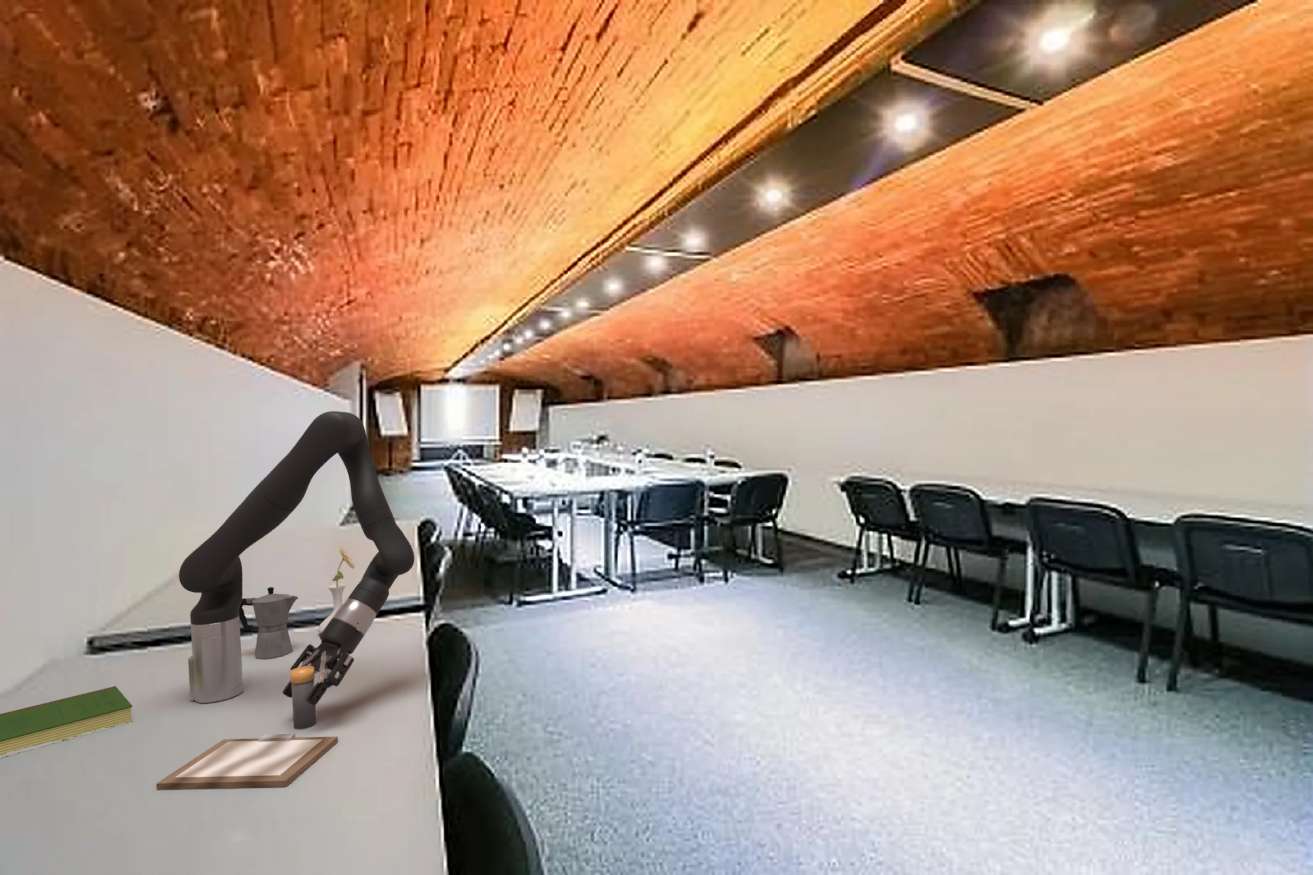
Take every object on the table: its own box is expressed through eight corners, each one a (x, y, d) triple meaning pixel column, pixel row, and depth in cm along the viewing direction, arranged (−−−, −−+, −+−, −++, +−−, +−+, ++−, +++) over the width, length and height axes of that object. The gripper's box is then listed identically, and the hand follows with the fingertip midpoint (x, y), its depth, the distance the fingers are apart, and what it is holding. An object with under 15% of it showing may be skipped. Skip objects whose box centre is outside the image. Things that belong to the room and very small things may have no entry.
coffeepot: (305, 645, 189) (302, 581, 189) (295, 656, 180) (291, 588, 180) (244, 652, 186) (240, 586, 186) (230, 663, 177) (227, 594, 176)
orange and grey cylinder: (288, 729, 133) (285, 673, 133) (301, 720, 137) (298, 666, 137) (309, 729, 133) (306, 673, 133) (321, 720, 137) (318, 665, 137)
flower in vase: (349, 637, 196) (345, 550, 196) (310, 639, 196) (305, 552, 196) (369, 624, 209) (365, 543, 209) (332, 626, 209) (328, 544, 209)
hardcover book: (116, 702, 153) (115, 686, 153) (133, 723, 141) (132, 705, 141) (-43, 743, 135) (-44, 724, 135) (-40, 772, 122) (-41, 751, 122)
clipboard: (156, 789, 112) (155, 778, 112) (223, 744, 127) (223, 735, 127) (286, 787, 110) (285, 775, 110) (337, 741, 126) (337, 732, 126)
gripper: (317, 613, 145) (264, 684, 136) (356, 620, 137) (304, 697, 128) (341, 631, 150) (292, 701, 140) (381, 639, 142) (332, 714, 132)
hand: (298, 699), depth 134 cm, fingers open, 8 cm apart
